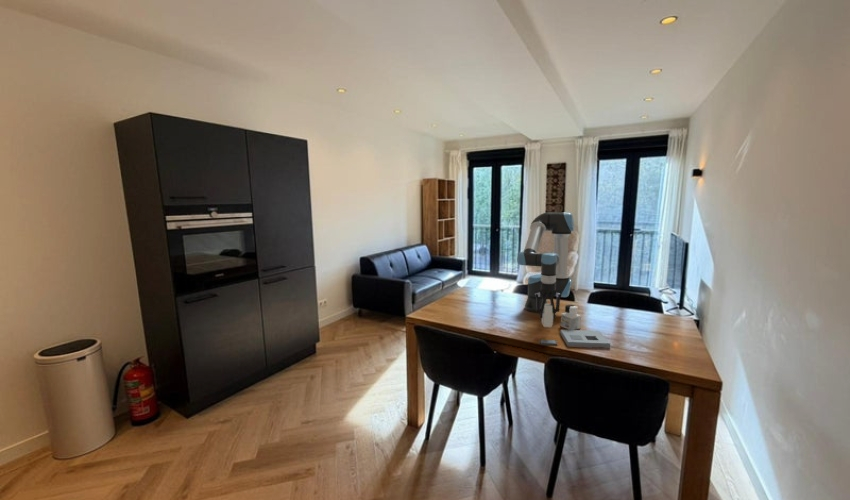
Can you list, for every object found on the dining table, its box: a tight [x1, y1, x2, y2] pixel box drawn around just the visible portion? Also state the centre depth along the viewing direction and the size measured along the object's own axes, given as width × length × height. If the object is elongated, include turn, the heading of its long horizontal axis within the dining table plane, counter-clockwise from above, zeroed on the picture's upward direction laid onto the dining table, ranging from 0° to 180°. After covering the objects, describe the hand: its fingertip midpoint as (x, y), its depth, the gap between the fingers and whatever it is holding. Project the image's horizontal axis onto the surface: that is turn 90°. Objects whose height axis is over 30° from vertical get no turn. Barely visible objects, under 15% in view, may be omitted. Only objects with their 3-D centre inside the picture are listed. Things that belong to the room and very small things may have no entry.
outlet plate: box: [560, 329, 611, 349], centre depth 180 cm, size 16×20×3 cm
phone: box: [539, 339, 558, 346], centre depth 178 cm, size 4×8×1 cm, turn 81°
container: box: [560, 304, 582, 330], centre depth 197 cm, size 8×8×13 cm
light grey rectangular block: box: [543, 302, 553, 328], centre depth 186 cm, size 4×4×12 cm
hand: (547, 323), depth 187 cm, fingers closed on light grey rectangular block, 4 cm apart
